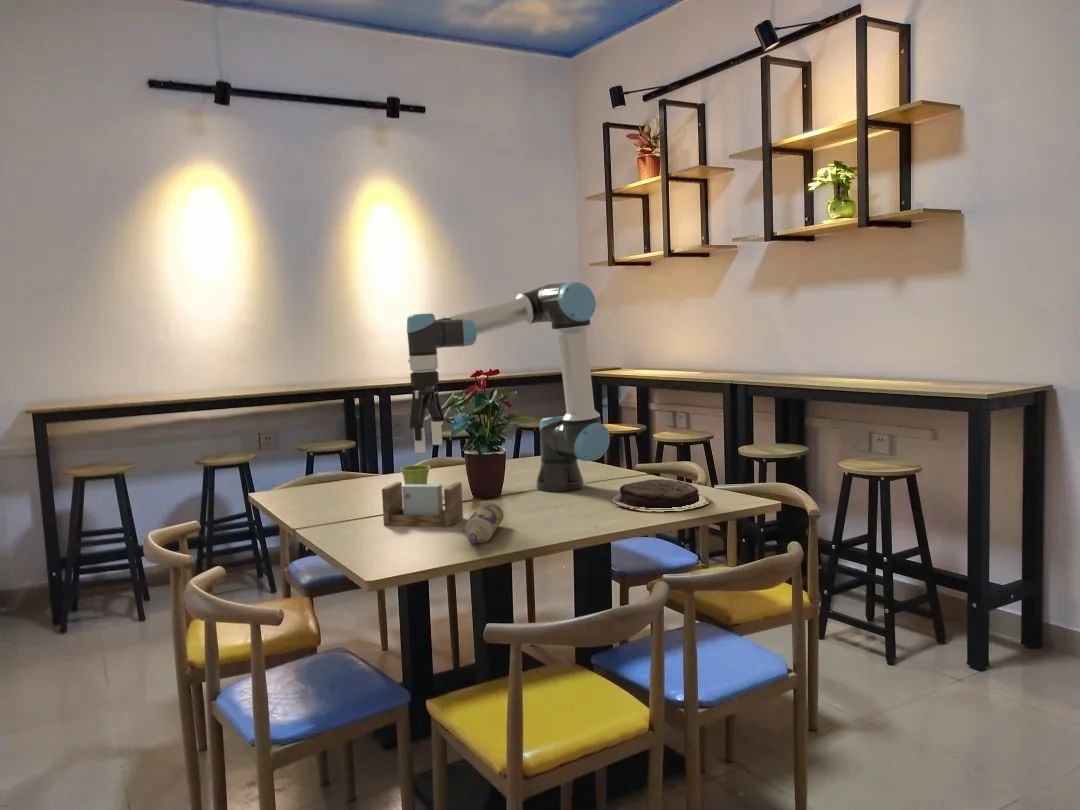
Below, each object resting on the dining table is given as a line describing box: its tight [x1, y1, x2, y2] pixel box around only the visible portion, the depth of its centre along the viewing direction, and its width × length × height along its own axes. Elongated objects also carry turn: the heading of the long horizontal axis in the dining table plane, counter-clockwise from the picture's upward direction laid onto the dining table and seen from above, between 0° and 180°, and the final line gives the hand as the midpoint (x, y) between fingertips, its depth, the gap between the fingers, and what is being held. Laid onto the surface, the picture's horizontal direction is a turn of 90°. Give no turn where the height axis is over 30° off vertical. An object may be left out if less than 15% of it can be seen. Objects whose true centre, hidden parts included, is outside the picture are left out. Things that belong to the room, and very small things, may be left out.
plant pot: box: [400, 464, 431, 485], centre depth 268 cm, size 9×9×9 cm
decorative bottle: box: [462, 502, 505, 544], centre depth 208 cm, size 26×8×7 cm, turn 173°
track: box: [381, 481, 464, 528], centre depth 228 cm, size 19×10×10 cm, turn 77°
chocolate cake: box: [612, 478, 711, 510], centre depth 242 cm, size 28×28×7 cm
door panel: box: [402, 483, 444, 515], centre depth 227 cm, size 10×4×9 cm, turn 77°
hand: (429, 448), depth 230 cm, fingers open, 13 cm apart
